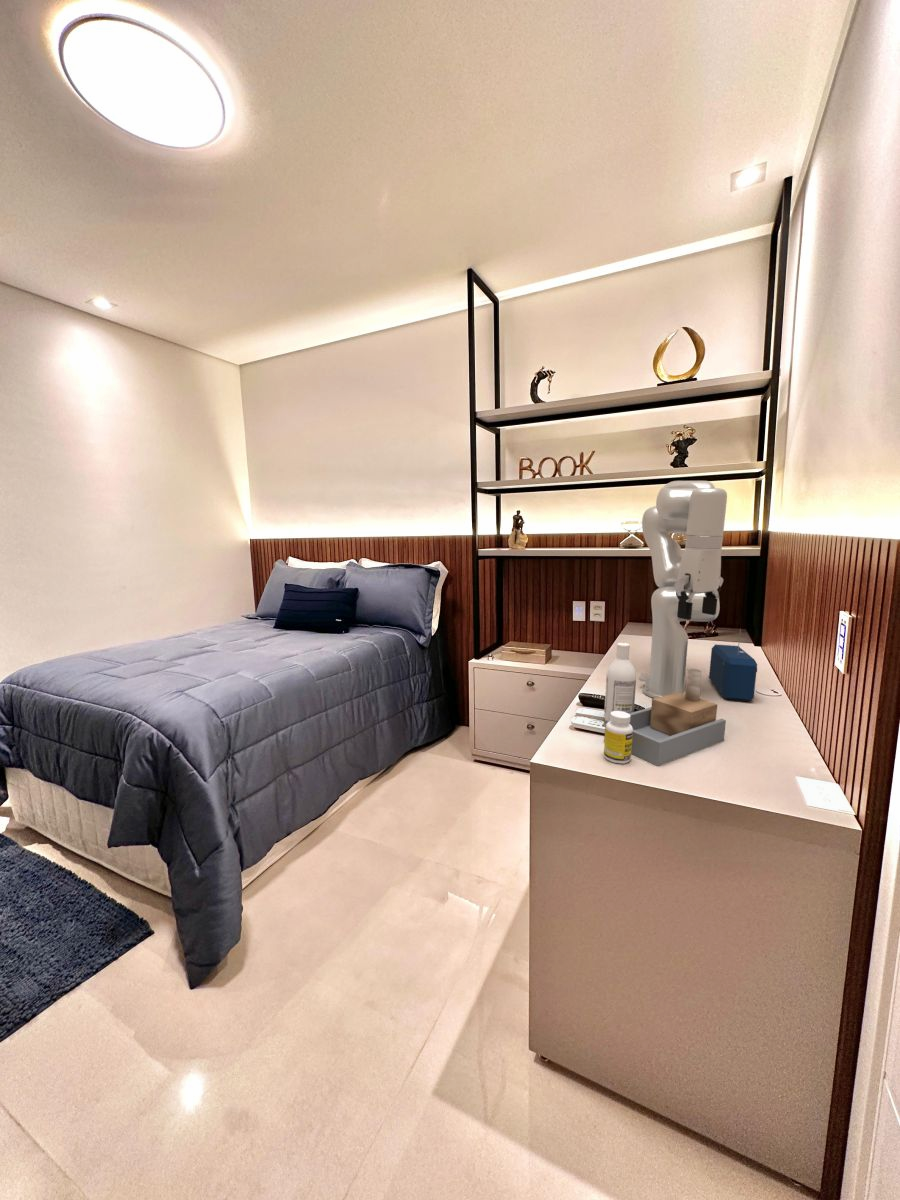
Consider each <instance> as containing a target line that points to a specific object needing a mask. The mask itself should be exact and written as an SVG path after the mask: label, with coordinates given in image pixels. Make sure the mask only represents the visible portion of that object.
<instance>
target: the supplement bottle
mask: <svg viewBox="0 0 900 1200" xmlns="http://www.w3.org/2000/svg"><path fill="white" fill-rule="evenodd" d="M610 720H611V721H609V722H608V723H607V724H606V731H605V730H604V737H605V741H604V748H603V757H604V758H605V760H607V761H608V762H610V763H615V764H627V763H629V762H630V761H631V760H632V759H631V758H632V754H631V748H632V736H633V728H632V726H631V725H630V724H629V723H630V714H628V713H626V712H622V711H613V712H611V713H610Z"/></svg>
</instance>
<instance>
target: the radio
mask: <svg viewBox="0 0 900 1200" xmlns="http://www.w3.org/2000/svg"><path fill="white" fill-rule="evenodd" d="M741 631H742V630H741V628H740V629H739V633H741ZM740 640H741V634H739V636H738V642H740ZM710 652H711V653H710V662H709V663H710V664H709V672H708V673H709V675H708V679H710V681H711V683H712V685H713V686H714V687H715V688H716V689H717V691H718V692H719V694H720V695H721V696H722V698H723V699H724V700H734V701H745V702H751V701H752V700H753V699H754V697H755V689H756V681H757V672H758V663H757V661H756V660H755V658H753V657H752V656H751V655H750V654H748V653H747V652H746V651H745V650H744V649H742V648H741V646H740V644H738V645H730V644H714V645H713V647H711V651H710Z"/></svg>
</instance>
